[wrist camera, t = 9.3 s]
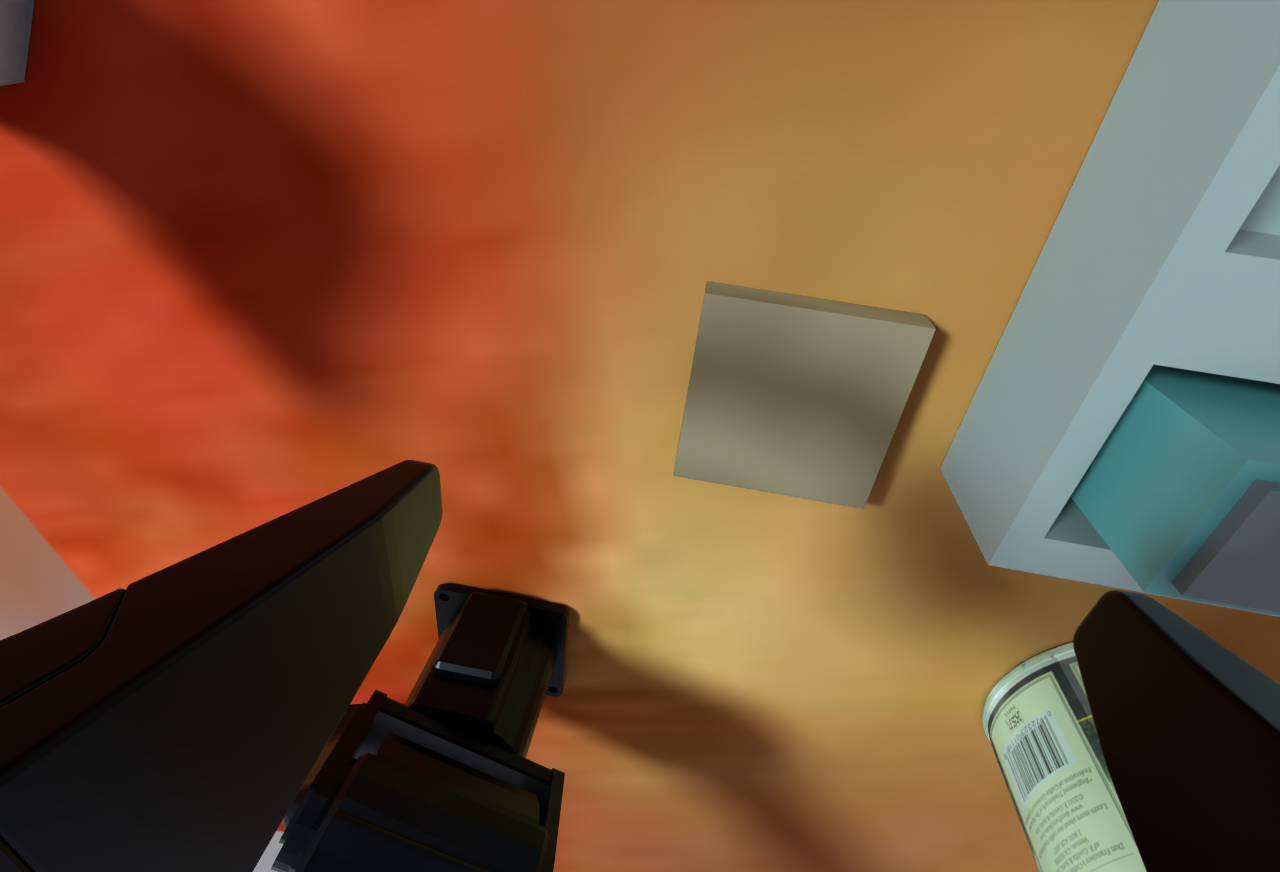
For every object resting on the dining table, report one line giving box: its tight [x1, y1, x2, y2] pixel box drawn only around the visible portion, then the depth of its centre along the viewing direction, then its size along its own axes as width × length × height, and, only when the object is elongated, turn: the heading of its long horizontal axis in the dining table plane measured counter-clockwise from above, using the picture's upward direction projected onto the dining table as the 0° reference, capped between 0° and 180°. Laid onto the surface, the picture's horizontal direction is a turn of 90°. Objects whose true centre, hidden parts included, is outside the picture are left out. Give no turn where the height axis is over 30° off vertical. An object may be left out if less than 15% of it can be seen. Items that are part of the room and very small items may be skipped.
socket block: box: [940, 0, 1280, 617], centre depth 15 cm, size 16×9×5 cm, turn 174°
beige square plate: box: [673, 281, 936, 509], centre depth 20 cm, size 7×7×1 cm
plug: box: [1070, 365, 1280, 615], centre depth 16 cm, size 4×4×7 cm
